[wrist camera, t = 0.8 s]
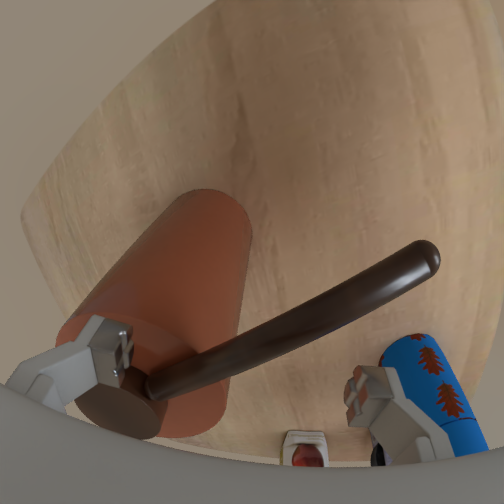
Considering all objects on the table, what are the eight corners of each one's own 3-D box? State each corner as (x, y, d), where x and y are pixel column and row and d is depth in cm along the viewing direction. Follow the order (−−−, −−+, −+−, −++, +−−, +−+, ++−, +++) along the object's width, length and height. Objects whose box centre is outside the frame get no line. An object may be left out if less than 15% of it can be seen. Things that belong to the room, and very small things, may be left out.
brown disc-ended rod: (405, 184, 11) (425, 197, 10) (446, 289, 13) (462, 311, 11) (69, 372, 17) (57, 392, 16) (129, 424, 19) (121, 444, 17)
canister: (145, 221, 38) (30, 350, 17) (216, 170, 35) (129, 276, 14) (198, 288, 42) (141, 447, 20) (270, 246, 39) (264, 415, 17)
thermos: (386, 334, 44) (438, 483, 21) (446, 330, 43) (512, 458, 20) (370, 383, 48) (401, 517, 26) (426, 378, 48) (469, 497, 25)
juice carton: (318, 447, 57) (323, 526, 40) (277, 446, 58) (275, 527, 40) (328, 429, 54) (336, 515, 37) (284, 427, 54) (283, 516, 37)
